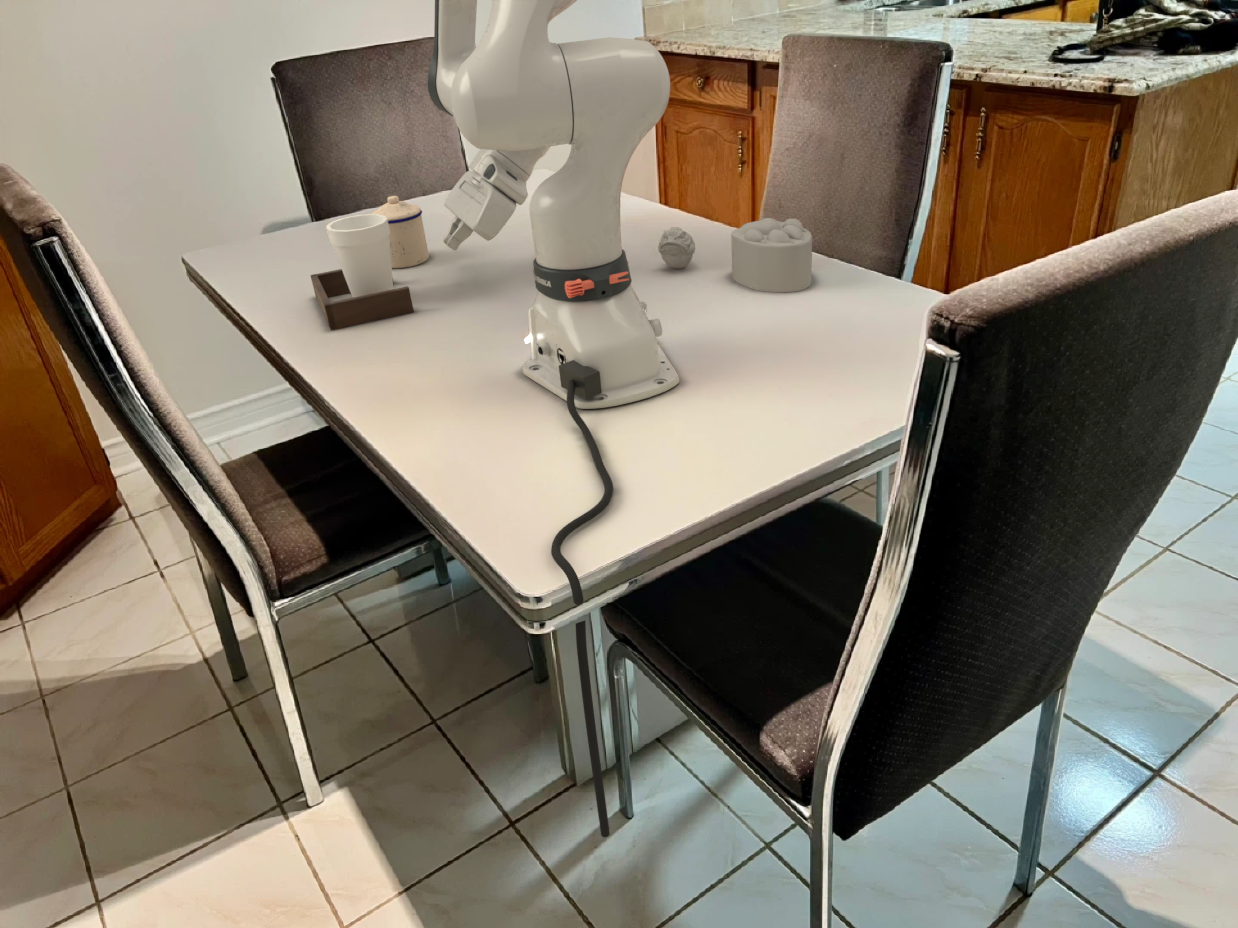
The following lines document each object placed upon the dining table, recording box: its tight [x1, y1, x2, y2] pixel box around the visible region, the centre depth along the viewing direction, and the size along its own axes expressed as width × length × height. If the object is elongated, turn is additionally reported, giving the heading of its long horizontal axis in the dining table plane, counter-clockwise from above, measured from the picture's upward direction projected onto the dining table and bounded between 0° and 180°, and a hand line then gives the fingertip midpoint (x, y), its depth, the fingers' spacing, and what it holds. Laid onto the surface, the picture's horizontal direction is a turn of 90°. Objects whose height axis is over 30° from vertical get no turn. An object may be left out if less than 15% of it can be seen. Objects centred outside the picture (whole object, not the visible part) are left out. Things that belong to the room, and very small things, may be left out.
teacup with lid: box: [371, 195, 430, 269], centre depth 168 cm, size 12×9×12 cm
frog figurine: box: [657, 226, 696, 269], centre depth 153 cm, size 6×7×7 cm
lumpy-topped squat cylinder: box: [730, 217, 813, 293], centre depth 145 cm, size 10×13×9 cm
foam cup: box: [325, 213, 394, 298], centre depth 150 cm, size 10×9×13 cm
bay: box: [310, 268, 415, 331], centre depth 151 cm, size 17×13×4 cm
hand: (448, 246), depth 154 cm, fingers closed
